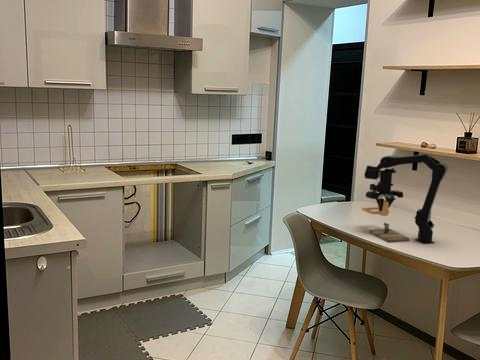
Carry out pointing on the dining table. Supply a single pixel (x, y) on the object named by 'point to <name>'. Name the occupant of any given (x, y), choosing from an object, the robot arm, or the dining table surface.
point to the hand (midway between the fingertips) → (383, 211)
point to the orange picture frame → (383, 212)
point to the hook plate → (389, 235)
